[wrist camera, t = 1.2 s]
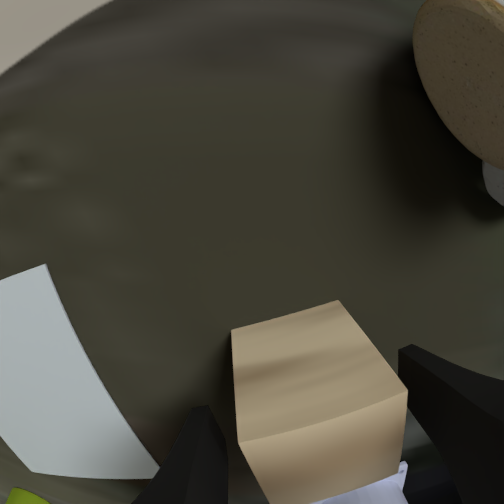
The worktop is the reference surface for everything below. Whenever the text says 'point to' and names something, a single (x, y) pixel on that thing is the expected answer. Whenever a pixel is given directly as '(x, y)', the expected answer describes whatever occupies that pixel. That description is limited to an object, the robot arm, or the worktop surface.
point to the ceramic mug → (466, 76)
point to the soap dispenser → (24, 497)
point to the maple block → (315, 405)
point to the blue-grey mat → (58, 391)
